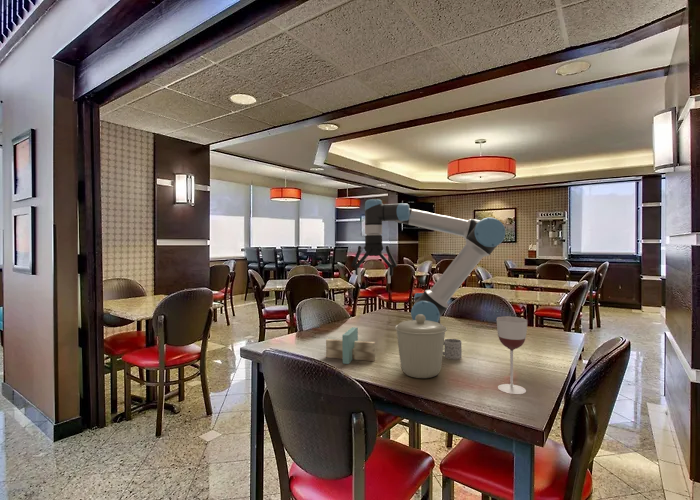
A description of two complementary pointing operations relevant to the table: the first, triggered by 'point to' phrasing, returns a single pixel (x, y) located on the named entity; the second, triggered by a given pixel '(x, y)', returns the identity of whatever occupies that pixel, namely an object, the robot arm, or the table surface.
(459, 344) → the mug
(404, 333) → the canister
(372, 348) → the birch notched board
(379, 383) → the table surface
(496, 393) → the table surface
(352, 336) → the teal slotted plate
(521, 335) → the wineglass
